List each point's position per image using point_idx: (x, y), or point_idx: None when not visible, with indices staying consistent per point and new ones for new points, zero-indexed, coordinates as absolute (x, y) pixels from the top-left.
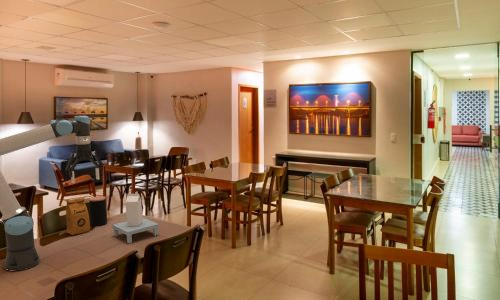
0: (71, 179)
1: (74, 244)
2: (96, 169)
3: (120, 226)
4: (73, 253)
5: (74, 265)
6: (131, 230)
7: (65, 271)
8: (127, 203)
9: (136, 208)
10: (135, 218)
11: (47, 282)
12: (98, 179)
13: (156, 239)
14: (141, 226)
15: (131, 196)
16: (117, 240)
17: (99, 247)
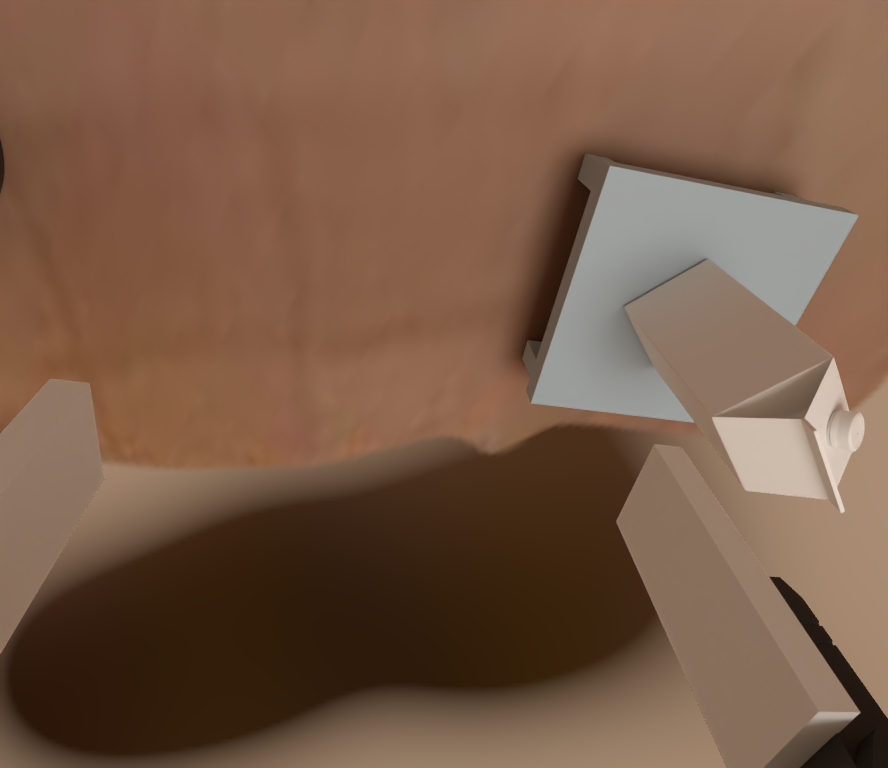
0: (5, 440)
1: (304, 51)
2: (755, 706)
3: (601, 267)
4: (225, 228)
5: (167, 389)
6: (565, 397)
7: (109, 417)
8: (708, 419)
9: (711, 442)
10: (670, 385)
11: None
12: (623, 525)
13: (637, 423)
14: (656, 385)
15: (799, 449)
16: (528, 259)
17: (386, 273)
